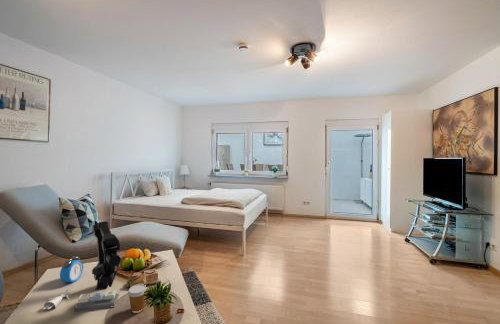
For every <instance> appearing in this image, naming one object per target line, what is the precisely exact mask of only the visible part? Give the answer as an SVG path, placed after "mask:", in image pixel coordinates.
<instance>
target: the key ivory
mask: <svg viewBox="0 0 500 324" xmlns="http://www.w3.org/2000/svg"><path fill="white" fill-rule="evenodd" d="M90 297H91V293H90V292H89V293H81V294H80V295H79V297H78V298H77V303H82V302H88V300H89V298H90Z"/></svg>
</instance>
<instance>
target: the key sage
mask: <svg viewBox="0 0 500 324" xmlns="http://www.w3.org/2000/svg"><path fill="white" fill-rule="evenodd" d="M116 294H117V290H107V291H106V292H105V294H104V295H105V300H106V299H114V297H115V295H116Z"/></svg>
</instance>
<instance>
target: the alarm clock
mask: <svg viewBox="0 0 500 324" xmlns="http://www.w3.org/2000/svg"><path fill="white" fill-rule="evenodd" d="M80 259H81V258H80V257H79V256H78V255H74V256H71V258H70V259H67V260H65V261H63V263H62V266H61V269H60V272H59V278H60V280H61V282H64V283H70V284H73V283H75V282H76V281H77V280H79V279H80V278H81V275H82V273H83V271H84V263H83V262H82V260H80Z"/></svg>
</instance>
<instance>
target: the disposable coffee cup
mask: <svg viewBox="0 0 500 324" xmlns="http://www.w3.org/2000/svg"><path fill="white" fill-rule="evenodd" d="M146 289H147V290H148V287H146V285H144V284H137V285H134V286H132V287H131V288H129V289H128V291H127V294H128V296H129V297H128V299H129V305H130V311H131V310H132V311H139V310H141V309H143V308H144V309H145V304H146V300H145V301H144V298H145V296H144V291H145V290H146ZM145 299H146V298H145Z"/></svg>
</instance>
